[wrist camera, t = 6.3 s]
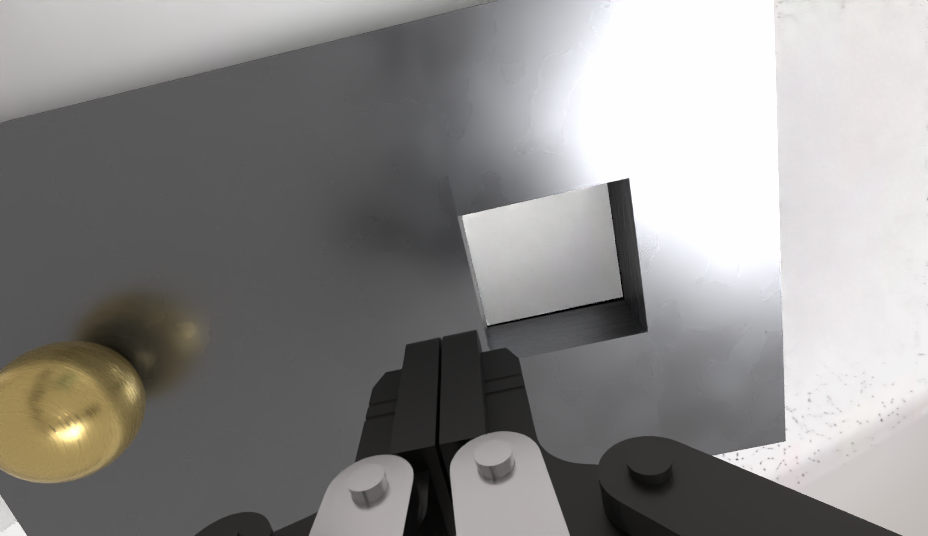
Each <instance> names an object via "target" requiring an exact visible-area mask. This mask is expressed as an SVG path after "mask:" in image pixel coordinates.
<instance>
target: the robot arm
mask: <svg viewBox="0 0 928 536" xmlns="http://www.w3.org/2000/svg"><path fill="white" fill-rule="evenodd" d="M365 418H366V421H365V422H364V426H363V430H362V434H361V438H360V442H359V446H358V451H357V455H356V459H355V463H354V464H352V465H350V466H348V467H347V468H346V469H344V470H343V471H342V472H340V473H339V474H338V475H337V476H336V477H335V478H334V479H333V480H332V482H331V483H330V485H329V486H328V488H327V490H326V492H325V495H324V497H323V500H322V503H321V505H320V508H319V510H318V512H316V513H314V514H312V515H310V516H308V517H306V518H304V519H301V520H299V521H297V522H295V523H292V524H290V525H288V526H286V527H283V528H281V529H279V530H277V531H274V532H273V529H272V527H271V525H270V523H269V521H268V519H267V518H266V517H265V516H263V515H262V514H259V513H256V512H241V513H236V514H232V515H229V516H226V517H224V518H221V519H219V520H217V521H215V522H213V523H212V524H210V525H208V526H207V527H205V528H204V529H202V530H201V531H200V532H198V533H197V534H196V535H194V536H902V535H899V534H897V533H894V532H892V531H890V530H887V529H885V528H883V527H880V526H878V525H875V524H873V523H871V522H868V521H866V520H864V519H861V518H859V517H856V516H854V515H852V514H849V513H847V512H845V511H842V510H840V509H837V508H835V507H833V506H830V505H828V504H825V503H823V502H821V501H818V500H816V499H814V498H811V497H809V496H807V495H804V494H801V493H799V492H797V491H795V490H792V489H790V488H787V487H785V486H783V485H780V484H778V483H776V482H773V481H771V480H768V479H766V478H764V477H761V476H759V475H757V474H754V473H752V472H749V471H747V470H745V469H742V468H740V467H737V466H735V465H733V464H730V463H728V462H726V461H723V460H721V459H718V458H716V457H714V456H711V455H709V454H706V453H704V452H702V451H699V450H697V449H695V448H692V447H690V446H687V445H685V444H683V443H680V442H678V441H675V440H672V439H669V438H664V437H657V436H640V437H634V438H629V439H626V440H623V441H621V442H619V443H617V444H615V445H613V446H612V447H611V448H609V449H608V450H607V451H606V452H605V453H604V454H603V456H602V457H601V459H600V461H599V464H598V465H597V464H581V463H573V462H568V461H564V460H562V459H559V458H557V457H555V456H553V455H551V454H550V453H548V452H547V451H546V450H545V449H544V448H543V447H542V446H541V445H540V443H539V441H538V439H537V436H536V431H535V427H534V423H533V418H532V414H531V409H530V405H529V401H528V396H527V392H526V388H525V383H524V379H523V374H522V370H521V366H520V361H519V358H518V357H517V356H516V355H515V354H513V353H512V352H511V351H510V350H508V349H507V348H506V347H505V348H500V349H495V350H491V351H486V352H482V347H481V343H480V339H479V335H478V332H477V330H472V331H467V332H462V333H458V334H453V335H448V336H443V338H442V339H441V337H439V338H434V339H429V340H424V341H420V342H415V343H410V344H406V347H405V354H404V360H403V366H402V369H399V370H394V371H389V372H385V374H384V375H383V376H382V377H381V378H380V380H379V381H378V382H377V383H376V385H375V386H374V387H373V388H372V392H371V397H370V401H369V407H368V409H367V413H366V417H365Z"/></svg>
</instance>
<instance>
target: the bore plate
mask: <svg viewBox="0 0 928 536" xmlns="http://www.w3.org/2000/svg"><path fill="white" fill-rule="evenodd" d="M604 183H607V186H608V193H609V200H610V208H611V215H612V222H613V230H614V237H615V244H616V252H617V259H618V266H619V273H620V281H621V288H622V295H623V297H620V298H615V299H610V300H605V301H601V302H596V303H591V304H587V305H582V306H577V307H573V308H568V309H563V310H558V311H554V312H549V313H544V314H540V315H535V316H530V317H526V318H521V319H516V320H511V321H507V322H502V323H497V324H493V325H488V326H487V322H486V318H485V314H484V310H483V305H482V301H481V297H480V293H479V288H478V284H477V280H476V276H475V271H474V267H473V263H472V259H471V254H470V250H469V246H468V241H467V237H466V233H465V229H464V224H463V220H462V216H461V215H466V214H470V213H475V212H479V211H484V210H488V209H493V208H497V207H501V206H506V205H510V204H515V203H519V202H524V201H528V200H533V199H537V198H541V197H546V196H550V195H555V194H559V193H564V192H568V191H573V190H577V189H582V188H586V187H590V186H595V185H599V184H604ZM472 330H477V332H478V335H479V339H480V343H481V347H482V352H486V351H491V350H495V349H500V348H505V347H506V348H507V349H508V350H510V351H511V352H512V353H513V354H515V355H516V356H517V357H518V358H519V361H520V366H521V370H522V374H523V379H524V383H525V388H526V392H527V396H528V401H529V405H530V409H531V414H532V418H533V423H534V427H535V431H536V436H537V439H538V441H539V443H540V445H541V446H542V447H543V448H544V449H545V450H546V451H547V452H548V453H550V454H551V455H553V456H555V457H557V458H559V459H562V460H564V461H568V462H573V463H581V464H597V465H598V464H599V461H600V459H601V457H602V456H603V454H604V453H605V452H606V451H607V450H608V449H609V448H611V447H612V446H613V445H615V444H617V443H619V442H621V441H623V440H626V439H629V438H634V437H640V436H657V437H664V438H669V439H672V440H675V441H678V442H680V443H683V444H685V445H687V446H690V447H692V448H695V449H697V450H699V451H702V452H704V453H706V454H709V455H711V456H712V455H717V454H722V453H728V452H733V451H738V450H743V449H748V448H753V447H758V446H763V445H769V444H774V443H779V442H784V441H786V440H785V404H784V368H783V332H782V296H781V260H780V223H779V187H778V151H777V115H776V79H775V43H774V7H773V0H497V1H493V2H489V3H485V4H481V5H477V6H473V7H469V8H465V9H461V10H457V11H453V12H449V13H445V14H441V15H436V16H432V17H428V18H424V19H420V20H416V21H412V22H408V23H404V24H400V25H396V26H392V27H388V28H384V29H380V30H376V31H371V32H367V33H363V34H359V35H355V36H351V37H347V38H343V39H339V40H335V41H331V42H327V43H323V44H319V45H315V46H311V47H306V48H302V49H298V50H294V51H290V52H286V53H282V54H278V55H274V56H270V57H266V58H262V59H258V60H254V61H250V62H246V63H242V64H237V65H233V66H229V67H225V68H221V69H217V70H213V71H209V72H205V73H201V74H197V75H193V76H189V77H185V78H181V79H177V80H172V81H168V82H164V83H160V84H156V85H152V86H148V87H144V88H140V89H136V90H132V91H128V92H124V93H120V94H116V95H112V96H107V97H103V98H99V99H95V100H91V101H87V102H83V103H79V104H75V105H71V106H67V107H63V108H59V109H55V110H51V111H47V112H42V113H38V114H34V115H30V116H26V117H22V118H18V119H14V120H10V121H6V122H2V123H0V370H1V369H2V368H3V367H5V366H6V365H7V364H8V363H9V362H11V361H12V360H14V359H15V358H17V357H18V356H20V355H22V354H24V353H25V352H28V351H30V350H32V349H35V348H37V347H40V346H43V345H47V344H51V343H56V342H62V341H84V342H90V343H95V344H99V345H102V346H105V347H108V348H110V349H112V350H114V351H116V352H117V353H119V354H120V355H122V356H123V357H124V358H125V359H127V360H128V361H129V362H130V363H131V364H132V365H133V367H134V368H135V369H136V370H137V372H138V374H139V375H140V377H141V380H142V382H143V385H144V389H145V394H146V410H145V415H144V419H143V423H142V425H141V427H140V430H139V432H138V434H137V436H136V437H135V439H134V440H133V442H132V443H131V444H130V446H129V447H128V448H127V449H126V450H125V451H124V452H123V453H122V454H121V455H120V456H119V457H118V458H117V459H116V460H114V461H113V462H112V463H111V464H109V465H108V466H106V467H104V468H103V469H101V470H99V471H97V472H96V473H94V474H91V475H89V476H86V477H83V478H81V479H77V480H73V481H68V482H62V483H35V482H30V481H26V480H22V479H19V478H16V477H14V476H12V475H10V474H8V473H6V472H4V471H3V470H1V469H0V495H1V496H2V498H3V499H4V501H5V502H6V504H7V505H8V507H9V508H10V510H11V512H12V513H13V515H14V516H15V518H16V519H17V521H18V522H19V524H20V525H21V527H22V528H23V530H24V531H25V533H26V535H27V536H194V535H196V534H197V533H198V532H200V531H201V530H202V529H204V528H205V527H207V526H208V525H210V524H212V523H213V522H215V521H217V520H219V519H221V518H224V517H226V516H229V515H232V514H236V513H241V512H256V513H259V514H262V515H263V516H265V517H266V518H267V519H268V521H269V523H270V525H271V527H272V529H273V532H274V531H277V530H279V529H281V528H283V527H286V526H288V525H290V524H292V523H295V522H297V521H299V520H301V519H304V518H306V517H308V516H310V515H312V514H314V513H316V512H318V510H319V508H320V505H321V503H322V500H323V497H324V495H325V492H326V490H327V488H328V486H329V485H330V483H331V482H332V480H333V479H334V478H335V477H336V476H337V475H338V474H339V473H340V472H342V471H343V470H344V469H346V468H347V467H348V466H350V465H352V464H354V463H355V459H356V455H357V451H358V446H359V442H360V438H361V434H362V430H363V426H364V422H365V421H366V418H365V417H366V413H367V409H368V407H369V401H370V397H371V392H372V388H373V387H374V386H375V385H376V383H377V382H378V381H379V380H380V378H381V377H382V376H383V375H384V374H385V372H389V371H394V370H399V369H402V366H403V360H404V354H405V347H406V344H410V343H415V342H420V341H424V340H429V339H434V338H439V337H441V339H442V338H443V336H448V335H453V334H458V333H462V332H467V331H472Z"/></svg>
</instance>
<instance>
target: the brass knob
mask: <svg viewBox="0 0 928 536" xmlns="http://www.w3.org/2000/svg"><path fill="white" fill-rule="evenodd" d="M145 410H146V394H145V389H144V385H143V382H142V380H141V377H140V375H139V374H138V372H137V370H136V369H135V368H134V367H133V365H132V364H131V363H130V362H129V361H128V360H127V359H125V358H124V357H123V356H122V355H120V354H119V353H117V352H116V351H114V350H112V349H110V348H108V347H105V346H102V345H99V344H95V343H90V342H84V341H62V342H56V343H51V344H47V345H43V346H40V347H37V348H35V349H32V350H30V351H28V352H25V353H24V354H22V355H20V356H18V357H17V358H15V359H14V360H12V361H11V362H9V363H8V364H7V365H6V366H5V367H3V368H2V369H1V370H0V469H1V470H3V471H4V472H6V473H8V474H10V475H12V476H14V477H16V478H19V479H22V480H26V481H30V482H35V483H62V482H68V481H73V480H77V479H81V478H83V477H86V476H89V475H91V474H94V473H96V472H97V471H99V470H101V469H103V468H104V467H106V466H108V465H109V464H111V463H112V462H113V461H114V460H116V459H117V458H118V457H119V456H120V455H121V454H122V453H123V452H124V451H125V450H126V449H127V448H128V447H129V446H130V444H131V443H132V442H133V440H134V439H135V437H136V436H137V434H138V432H139V430H140V427H141V425H142V423H143V419H144V415H145Z"/></svg>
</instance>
